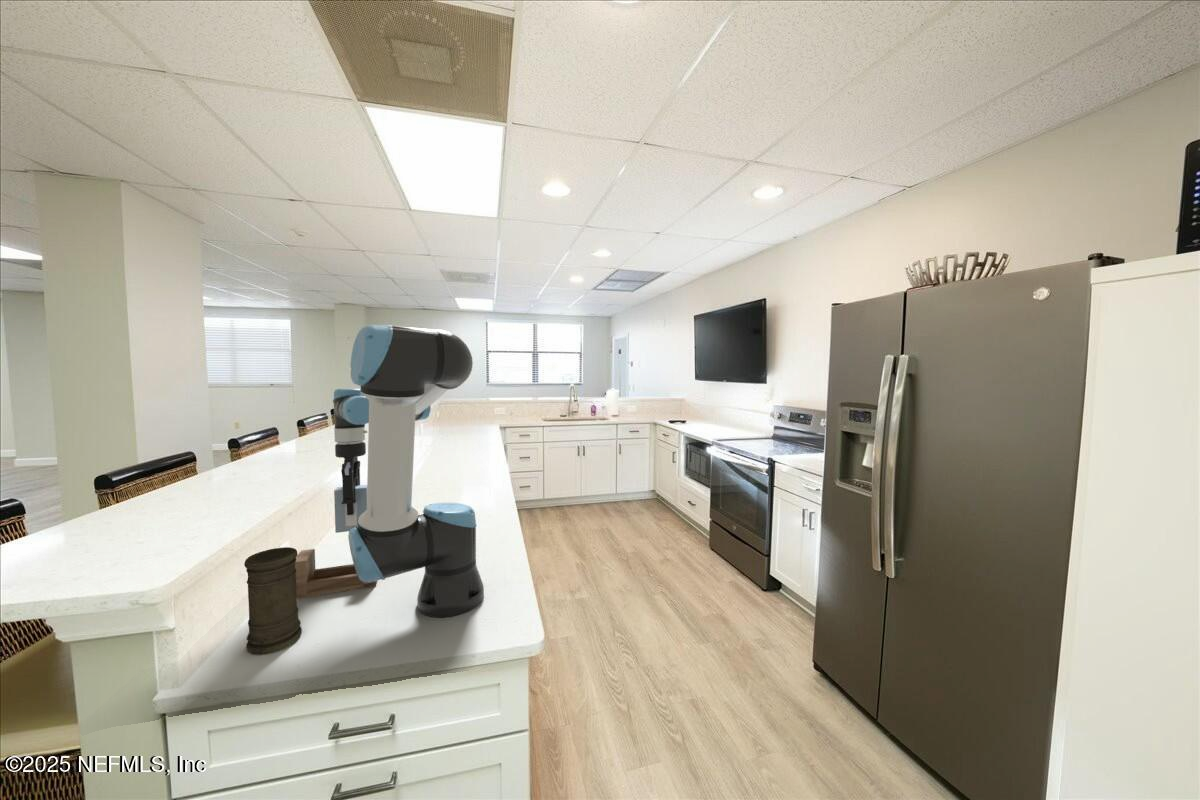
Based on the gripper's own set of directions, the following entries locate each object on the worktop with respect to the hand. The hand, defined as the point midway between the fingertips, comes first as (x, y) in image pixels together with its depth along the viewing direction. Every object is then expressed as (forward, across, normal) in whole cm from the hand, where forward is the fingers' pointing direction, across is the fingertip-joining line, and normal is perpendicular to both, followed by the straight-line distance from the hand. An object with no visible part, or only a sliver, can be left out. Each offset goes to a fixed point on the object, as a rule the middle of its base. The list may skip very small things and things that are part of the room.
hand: (353, 522), depth 120 cm
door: (+2, 0, 0) cm, 2 cm away
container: (+13, -35, +8) cm, 38 cm away
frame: (+12, -13, +1) cm, 18 cm away
